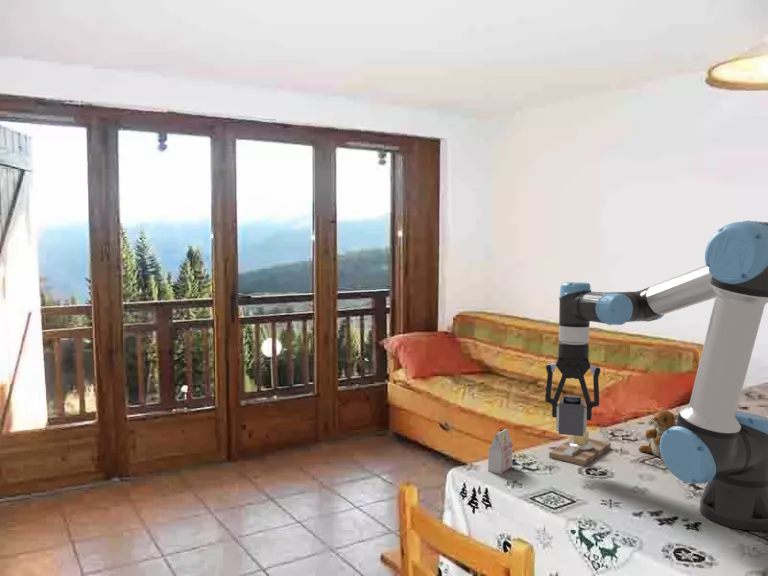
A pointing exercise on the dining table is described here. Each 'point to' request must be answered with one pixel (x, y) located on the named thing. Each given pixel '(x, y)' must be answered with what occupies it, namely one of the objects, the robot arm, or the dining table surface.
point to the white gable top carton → (500, 453)
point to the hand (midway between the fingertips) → (571, 430)
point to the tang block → (580, 450)
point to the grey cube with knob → (571, 415)
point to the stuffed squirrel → (658, 431)
